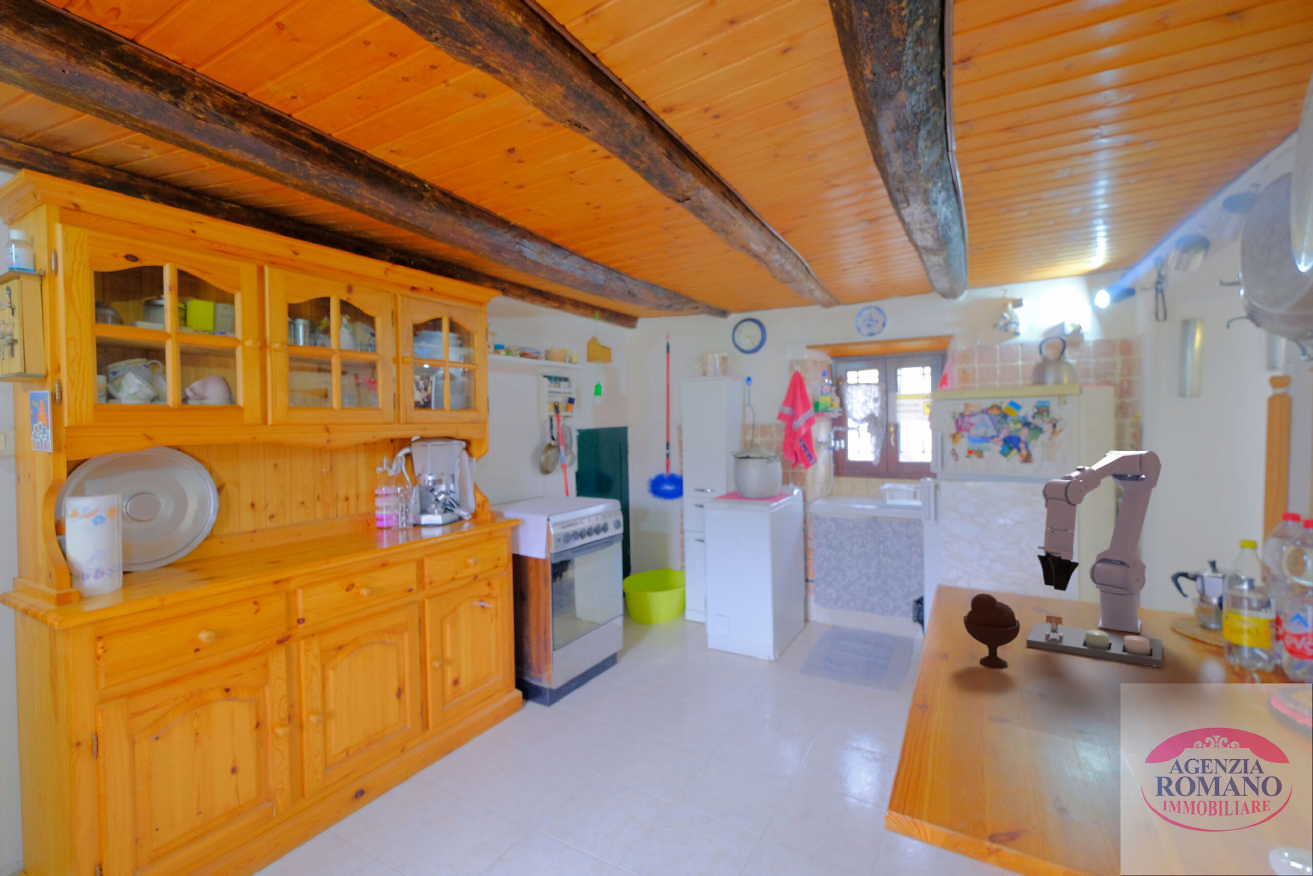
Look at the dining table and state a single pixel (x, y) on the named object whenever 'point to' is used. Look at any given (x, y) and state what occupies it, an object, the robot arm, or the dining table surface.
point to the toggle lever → (1054, 622)
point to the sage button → (1096, 639)
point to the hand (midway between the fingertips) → (1054, 587)
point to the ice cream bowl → (991, 627)
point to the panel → (1075, 643)
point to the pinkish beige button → (1137, 645)
